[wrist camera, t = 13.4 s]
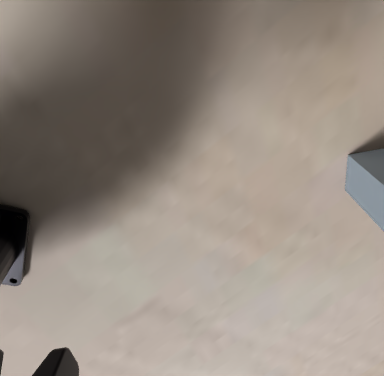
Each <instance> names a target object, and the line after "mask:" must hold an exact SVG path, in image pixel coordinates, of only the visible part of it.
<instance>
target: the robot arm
mask: <svg viewBox="0 0 384 376" xmlns="http://www.w3.org/2000/svg"><path fill="white" fill-rule="evenodd" d="M18 216H21V217H22V218H23V219H21V218H19V217H18ZM29 222H30V215H29V213H28V212H27V211H26V210H23V209H19V208H15V207H10V206H5V205H1V204H0V285H1V284H5V285H11V286H18V285H20V284H21V282H22V280H23V276H24V267H25V258H26V249H27V240H28V231H29ZM3 354H4V353H3V351H2V350H0V374H1V367H2V361H3ZM32 376H79V366H78V363H77V361H76V360H75V358H74V356H73V355H72V353H71V351H70V350H69V349H68V348H67V347H65V348H59V349H54V350H52V351H51V352H50V353H49V354H48V356H47V357H46V358H45V359H44V361H43V362H42V363H41V365H40V366H39V367H38V369H37V370H36V371H35V372H34V374H33V375H32Z"/></svg>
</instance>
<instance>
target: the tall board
mask: <svg viewBox="0 0 384 376" xmlns="http://www.w3.org/2000/svg"><path fill="white" fill-rule="evenodd" d="M345 191H346V192H347V193H348V194H349V195H350V196H351V197H352V198H353V199H354V200H355V201H356V202H357V204H358V205H359V206H360V207H361V208H362V209H363V210H364V211H365V212H366V213H367V214H368V215H369V216H370V217H371V218H372V220H373V221H374V222H375V223H376V224H377V225H378V226H379V227H380V228H381V229H382V230H383V231H384V148H383V149H377V150H372V151H366V152H361V153H355V154H350V155H348V161H347V173H346V185H345Z"/></svg>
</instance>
